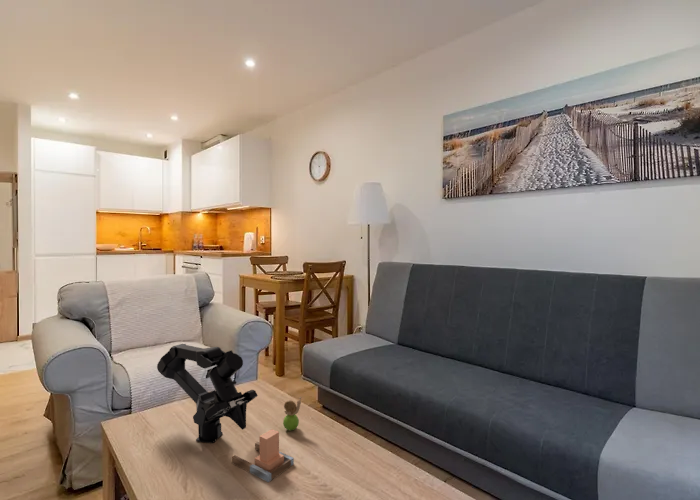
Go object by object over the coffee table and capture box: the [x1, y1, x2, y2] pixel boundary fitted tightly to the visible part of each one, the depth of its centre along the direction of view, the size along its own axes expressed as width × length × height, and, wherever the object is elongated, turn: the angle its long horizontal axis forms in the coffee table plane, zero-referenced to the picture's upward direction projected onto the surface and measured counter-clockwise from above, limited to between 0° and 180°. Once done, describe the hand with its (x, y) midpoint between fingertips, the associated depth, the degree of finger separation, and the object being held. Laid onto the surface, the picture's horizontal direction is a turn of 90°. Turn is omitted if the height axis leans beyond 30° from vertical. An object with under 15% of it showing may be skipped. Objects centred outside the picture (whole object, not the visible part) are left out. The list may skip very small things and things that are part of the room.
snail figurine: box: [282, 396, 302, 431], centre depth 142 cm, size 5×6×12 cm
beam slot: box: [231, 441, 295, 483], centre depth 122 cm, size 16×10×2 cm
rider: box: [254, 429, 284, 472], centre depth 120 cm, size 6×6×10 cm
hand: (244, 428), depth 126 cm, fingers closed
